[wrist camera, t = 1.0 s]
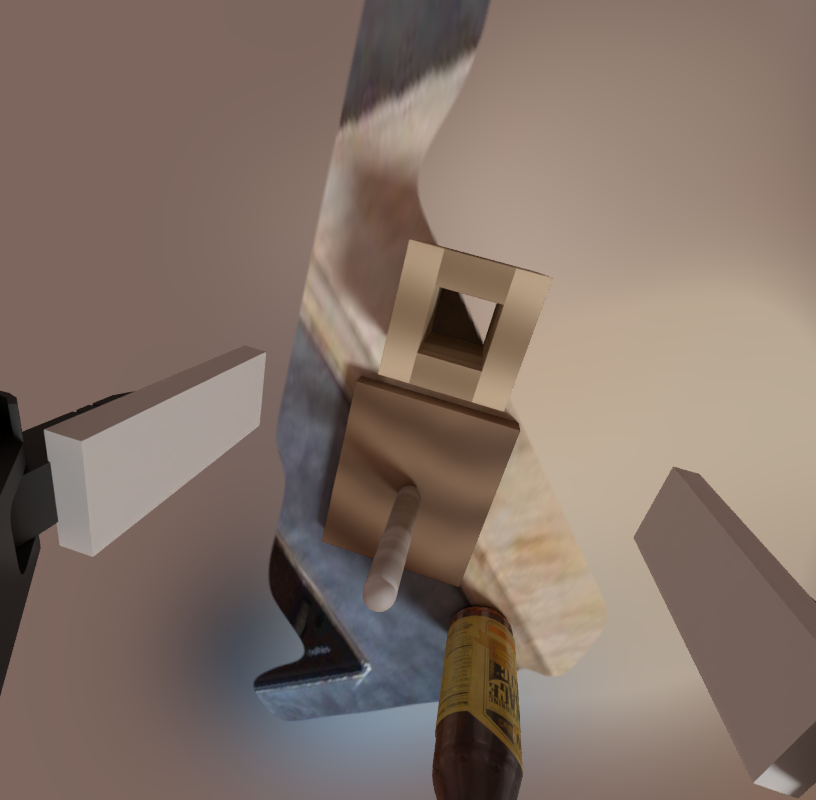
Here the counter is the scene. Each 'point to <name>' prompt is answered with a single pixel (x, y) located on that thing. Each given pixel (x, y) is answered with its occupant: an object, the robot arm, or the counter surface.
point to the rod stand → (414, 485)
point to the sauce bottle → (478, 711)
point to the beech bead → (451, 358)
